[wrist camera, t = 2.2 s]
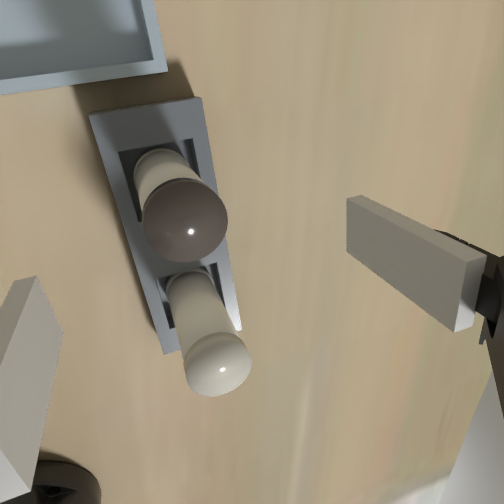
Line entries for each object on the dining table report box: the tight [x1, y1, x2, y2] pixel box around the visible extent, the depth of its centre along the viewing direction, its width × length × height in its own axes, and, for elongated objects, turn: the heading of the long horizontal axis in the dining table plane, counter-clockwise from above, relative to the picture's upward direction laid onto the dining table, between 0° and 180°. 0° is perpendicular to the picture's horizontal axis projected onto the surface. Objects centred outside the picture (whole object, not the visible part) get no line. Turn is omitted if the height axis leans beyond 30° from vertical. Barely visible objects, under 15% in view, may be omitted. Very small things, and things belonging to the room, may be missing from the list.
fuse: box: [165, 267, 252, 396], centre depth 30 cm, size 5×5×12 cm
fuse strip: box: [88, 96, 242, 355], centre depth 32 cm, size 8×22×2 cm, turn 6°
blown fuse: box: [133, 147, 228, 262], centre depth 25 cm, size 5×5×12 cm
